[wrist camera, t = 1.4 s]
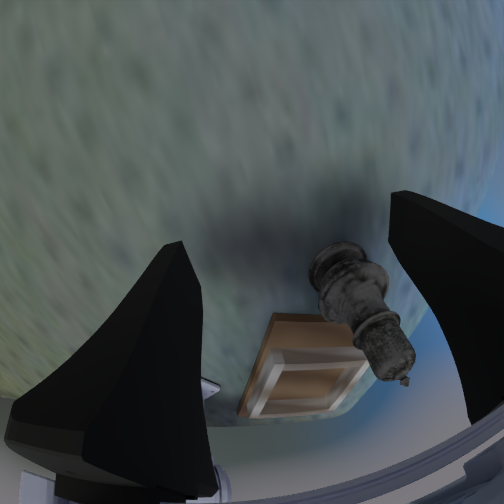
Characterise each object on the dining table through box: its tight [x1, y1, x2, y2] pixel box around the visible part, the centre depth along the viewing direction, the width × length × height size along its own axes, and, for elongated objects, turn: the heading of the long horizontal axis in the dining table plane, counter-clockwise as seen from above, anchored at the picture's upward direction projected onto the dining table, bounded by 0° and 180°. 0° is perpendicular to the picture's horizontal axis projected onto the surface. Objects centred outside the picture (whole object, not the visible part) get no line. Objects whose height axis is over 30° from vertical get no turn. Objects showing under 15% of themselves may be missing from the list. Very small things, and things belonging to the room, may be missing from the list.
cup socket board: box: [237, 313, 370, 419], centre depth 30 cm, size 18×12×3 cm, turn 168°
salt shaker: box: [309, 242, 416, 387], centre depth 19 cm, size 6×6×12 cm
